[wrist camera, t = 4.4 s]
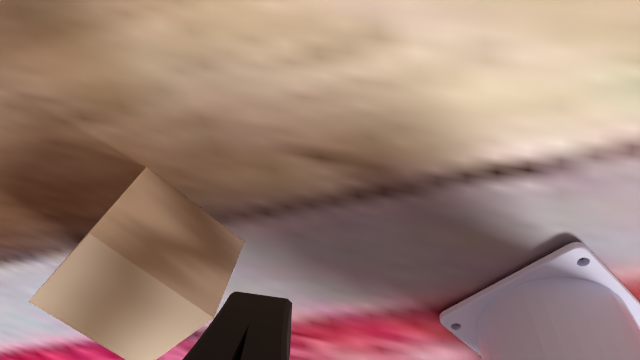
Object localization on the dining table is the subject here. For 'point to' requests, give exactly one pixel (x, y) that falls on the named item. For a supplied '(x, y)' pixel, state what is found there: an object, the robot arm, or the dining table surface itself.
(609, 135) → the dining table surface
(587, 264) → the robot arm
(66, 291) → the ash block
